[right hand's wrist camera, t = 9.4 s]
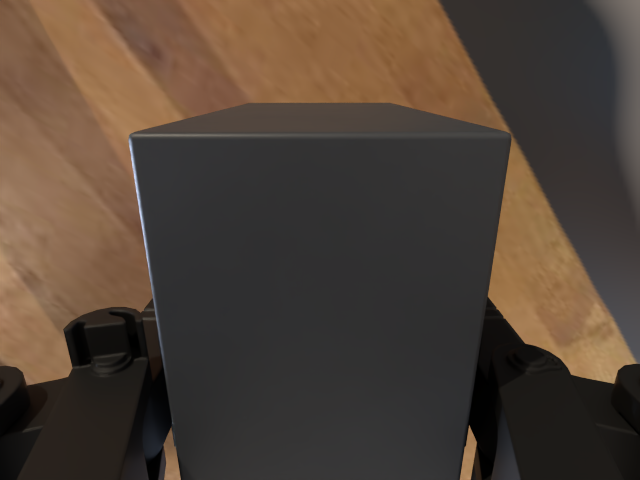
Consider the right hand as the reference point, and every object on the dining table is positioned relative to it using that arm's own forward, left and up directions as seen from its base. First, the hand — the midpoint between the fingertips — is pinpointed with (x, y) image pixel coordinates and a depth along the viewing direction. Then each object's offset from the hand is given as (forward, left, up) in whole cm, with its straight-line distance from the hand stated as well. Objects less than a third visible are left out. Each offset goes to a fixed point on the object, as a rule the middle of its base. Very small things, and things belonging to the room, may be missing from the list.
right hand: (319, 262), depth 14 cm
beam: (-6, -20, -1) cm, 21 cm away
